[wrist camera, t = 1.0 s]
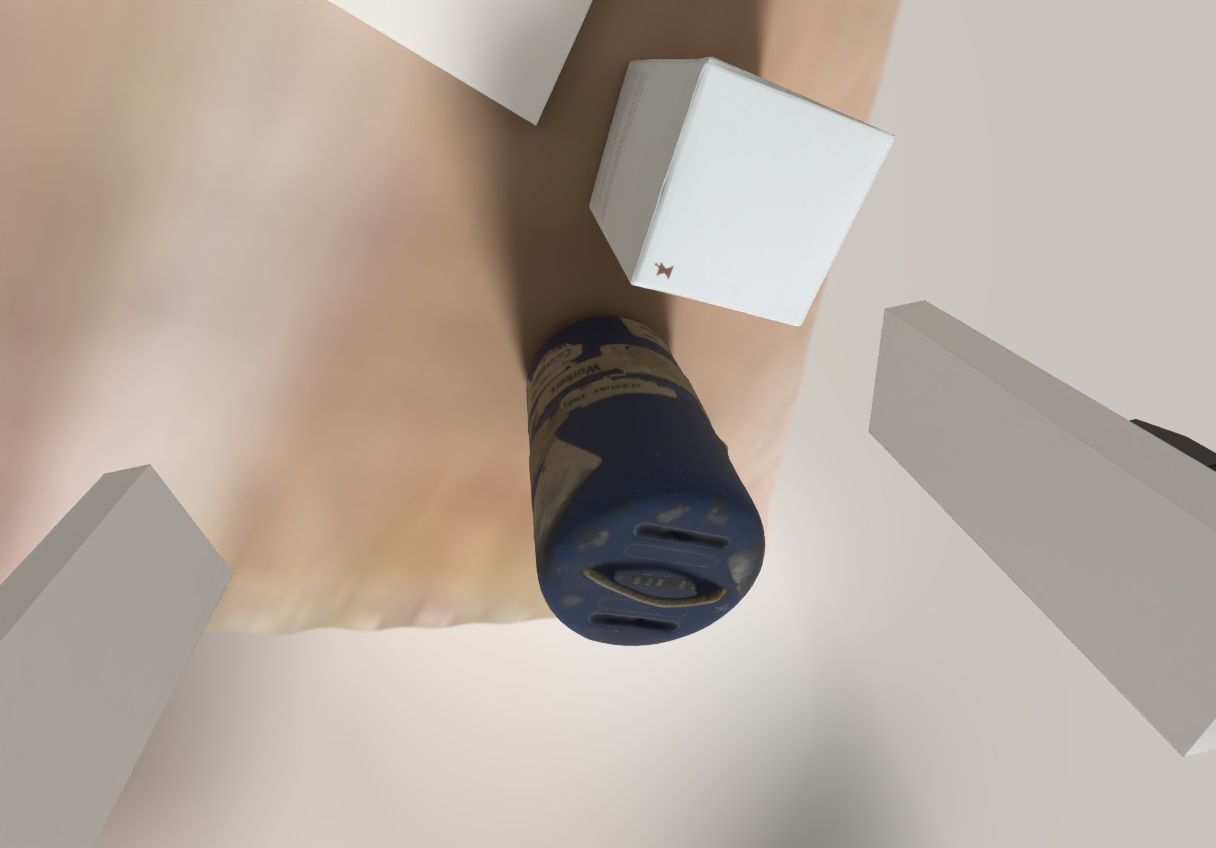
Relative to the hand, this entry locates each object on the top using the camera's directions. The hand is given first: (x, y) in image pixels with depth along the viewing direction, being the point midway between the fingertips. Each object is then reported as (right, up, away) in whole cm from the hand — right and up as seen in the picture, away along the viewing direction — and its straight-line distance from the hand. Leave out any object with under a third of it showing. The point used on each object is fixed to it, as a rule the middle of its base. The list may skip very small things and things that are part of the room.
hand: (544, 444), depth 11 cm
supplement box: (+5, +14, +20) cm, 25 cm away
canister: (+1, +3, +26) cm, 26 cm away
